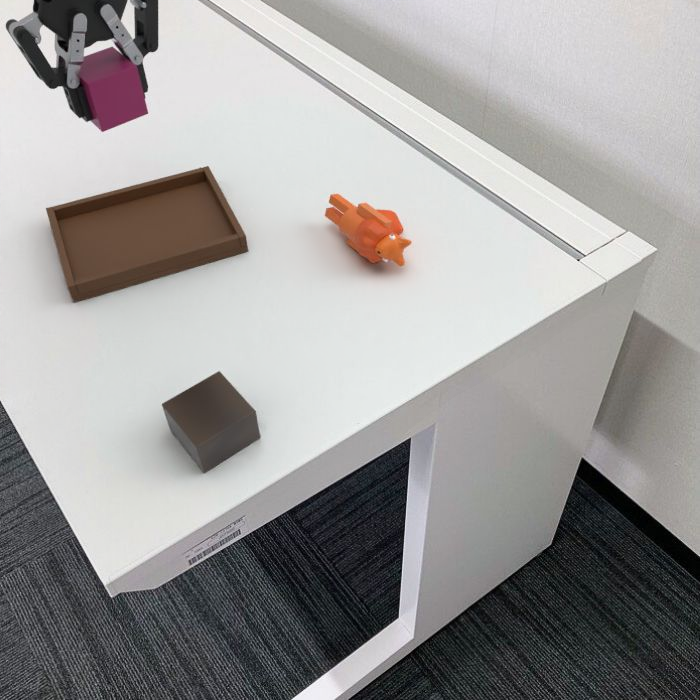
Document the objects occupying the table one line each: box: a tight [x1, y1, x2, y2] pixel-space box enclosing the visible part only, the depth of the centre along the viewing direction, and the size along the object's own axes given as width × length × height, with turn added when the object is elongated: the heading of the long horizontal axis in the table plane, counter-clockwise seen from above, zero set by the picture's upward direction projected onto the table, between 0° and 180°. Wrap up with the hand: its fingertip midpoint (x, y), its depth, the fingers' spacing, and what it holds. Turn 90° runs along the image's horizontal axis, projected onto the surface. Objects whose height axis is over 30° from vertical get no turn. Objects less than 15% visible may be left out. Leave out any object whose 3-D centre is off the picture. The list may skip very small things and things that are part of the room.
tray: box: [45, 165, 249, 304], centre depth 87 cm, size 20×15×2 cm
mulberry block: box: [80, 46, 149, 133], centre depth 73 cm, size 5×5×5 cm
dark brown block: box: [161, 370, 262, 474], centre depth 68 cm, size 6×6×4 cm
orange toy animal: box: [324, 193, 412, 267], centre depth 85 cm, size 5×8×12 cm
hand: (112, 106), depth 75 cm, fingers closed on mulberry block, 5 cm apart
